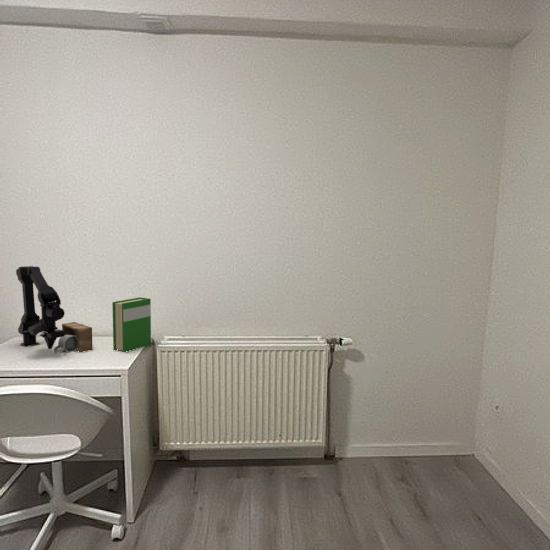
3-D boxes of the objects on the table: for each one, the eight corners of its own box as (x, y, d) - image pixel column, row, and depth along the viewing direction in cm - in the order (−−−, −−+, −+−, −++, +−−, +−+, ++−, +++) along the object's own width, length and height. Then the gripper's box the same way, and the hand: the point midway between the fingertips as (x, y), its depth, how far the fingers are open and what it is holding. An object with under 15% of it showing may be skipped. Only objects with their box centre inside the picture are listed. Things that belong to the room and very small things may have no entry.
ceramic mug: (72, 346, 212) (71, 331, 211) (80, 350, 207) (79, 334, 206) (50, 351, 204) (49, 336, 203) (58, 355, 199) (57, 339, 198)
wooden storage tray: (62, 345, 214) (61, 323, 213) (74, 343, 219) (74, 321, 218) (80, 352, 203) (79, 329, 202) (92, 349, 208) (91, 327, 206)
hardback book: (124, 352, 204) (123, 303, 202) (113, 350, 208) (112, 302, 205) (151, 344, 219) (150, 298, 217) (140, 342, 223) (140, 297, 220)
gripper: (21, 316, 198) (23, 349, 200) (39, 322, 187) (40, 356, 188) (46, 313, 207) (47, 344, 209) (64, 318, 195) (65, 351, 197)
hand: (49, 349), depth 200 cm, fingers closed
